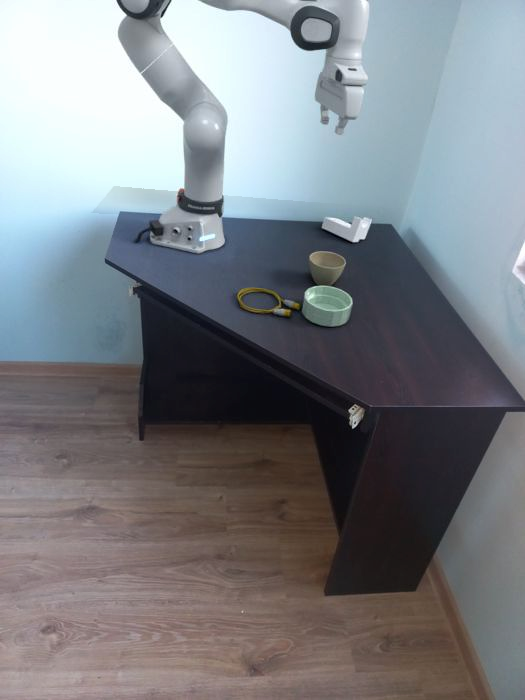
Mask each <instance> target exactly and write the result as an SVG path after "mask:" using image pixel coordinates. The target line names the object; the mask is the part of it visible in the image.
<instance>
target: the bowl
mask: <svg viewBox="0 0 525 700" xmlns="http://www.w3.org/2000/svg"><path fill="white" fill-rule="evenodd" d="M353 304H354V303H353V298H352V297H351V296H350V294H349V293H348V292H346V291H344V290H342V289H340V288H338V287H334V286H320V285H315V286H312V287H309V288H307V289H306V290H305V292H304V295H303V300H302V306H301V314H302V315H303V316H304V317H305V319H307V320H308V321H309V322H311V323H314V324H316V325H318V326H323V327H331V328H332V327H340V326H342V325H345V324H346V323H347V322H348V321H349V319H350V316H351V312H352V308H353Z"/></svg>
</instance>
